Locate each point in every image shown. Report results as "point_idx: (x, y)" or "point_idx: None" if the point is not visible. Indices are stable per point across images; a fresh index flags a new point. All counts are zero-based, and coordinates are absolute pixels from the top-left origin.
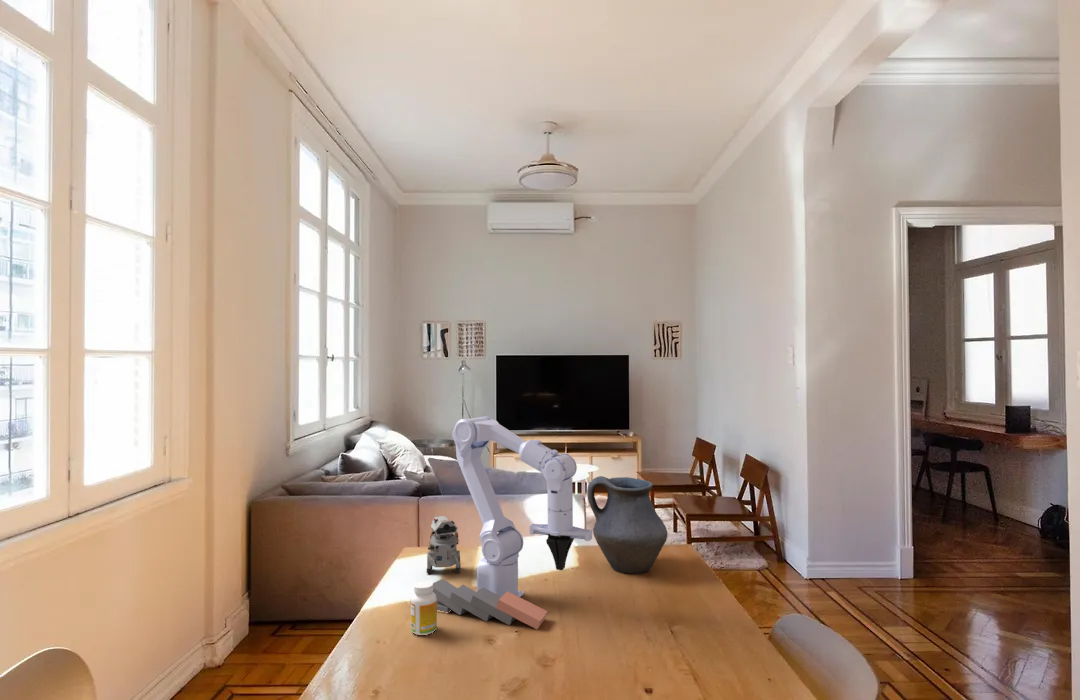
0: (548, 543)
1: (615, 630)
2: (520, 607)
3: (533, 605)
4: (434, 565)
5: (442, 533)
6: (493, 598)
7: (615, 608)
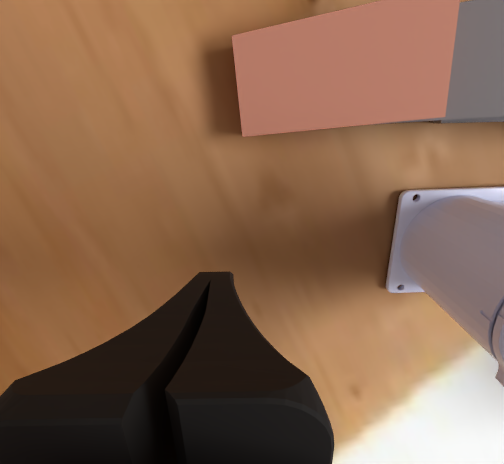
0: (278, 373)
1: (14, 154)
2: (336, 45)
3: (297, 123)
4: None
5: None
6: (488, 71)
7: (96, 294)
